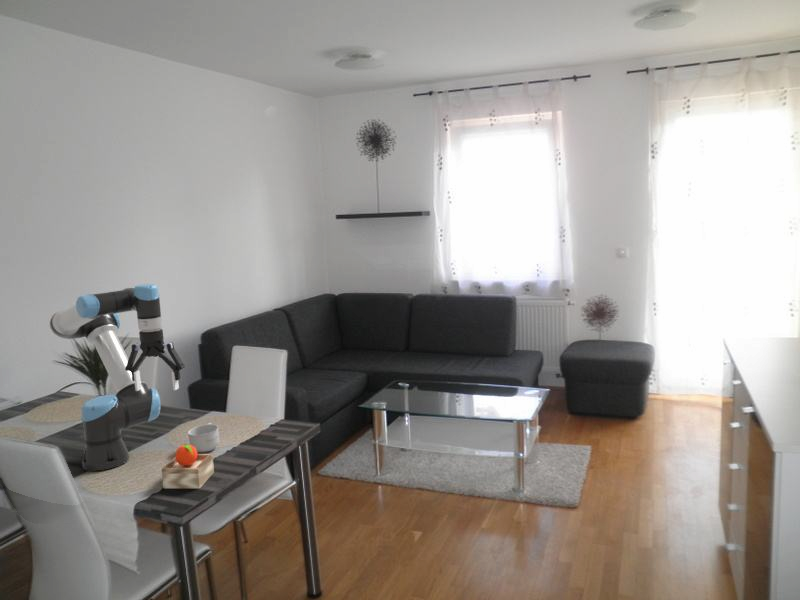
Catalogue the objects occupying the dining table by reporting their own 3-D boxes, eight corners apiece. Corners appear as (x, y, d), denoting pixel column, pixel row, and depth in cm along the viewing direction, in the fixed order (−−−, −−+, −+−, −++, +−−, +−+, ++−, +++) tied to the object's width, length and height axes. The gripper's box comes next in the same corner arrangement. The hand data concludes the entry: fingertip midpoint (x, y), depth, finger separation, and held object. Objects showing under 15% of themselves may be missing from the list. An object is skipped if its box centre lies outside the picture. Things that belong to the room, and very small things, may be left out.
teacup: (211, 455, 226) (209, 434, 225) (184, 454, 228) (181, 433, 227) (229, 441, 240) (227, 421, 238) (203, 440, 242) (201, 420, 240)
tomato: (204, 465, 206) (202, 444, 205) (184, 472, 201) (182, 451, 200) (191, 459, 211) (189, 439, 210) (172, 466, 206) (170, 445, 205)
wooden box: (163, 488, 202) (161, 469, 201) (180, 472, 213) (178, 454, 212) (199, 488, 200) (197, 469, 199) (214, 472, 212) (212, 453, 211)
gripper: (110, 332, 212) (117, 393, 215) (181, 331, 209) (187, 392, 213) (121, 328, 219) (128, 386, 223) (190, 326, 217) (196, 385, 220)
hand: (157, 389), depth 218 cm, fingers open, 13 cm apart
